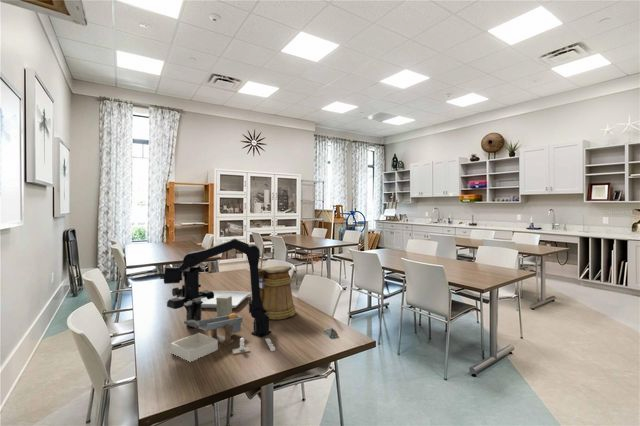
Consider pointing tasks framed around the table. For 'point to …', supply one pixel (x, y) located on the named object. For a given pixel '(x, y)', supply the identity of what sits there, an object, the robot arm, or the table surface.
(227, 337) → the pivot stand
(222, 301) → the skincare box
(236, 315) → the ball
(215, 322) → the tipping lever
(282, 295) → the tankard
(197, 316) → the supplement container
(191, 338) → the white open tray
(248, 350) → the game pieces
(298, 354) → the table surface
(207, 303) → the square plate
